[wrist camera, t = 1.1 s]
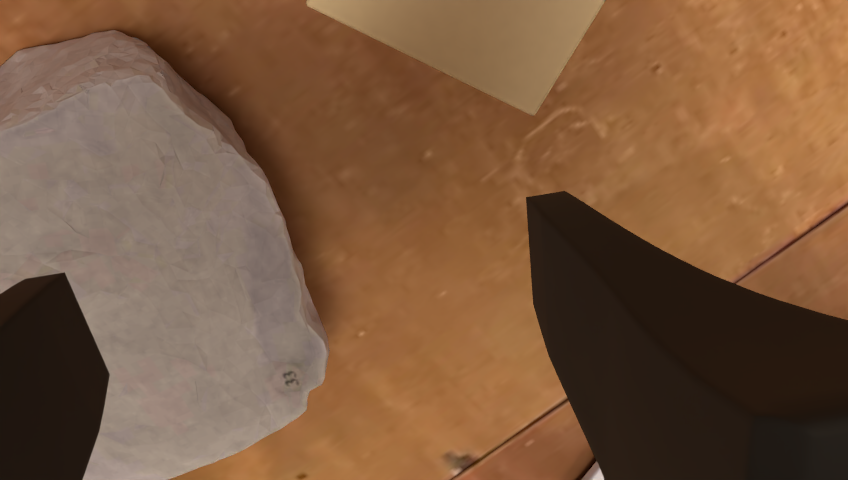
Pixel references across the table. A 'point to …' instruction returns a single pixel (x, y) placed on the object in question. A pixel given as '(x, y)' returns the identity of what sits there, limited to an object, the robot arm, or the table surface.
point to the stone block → (155, 253)
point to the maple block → (478, 39)
